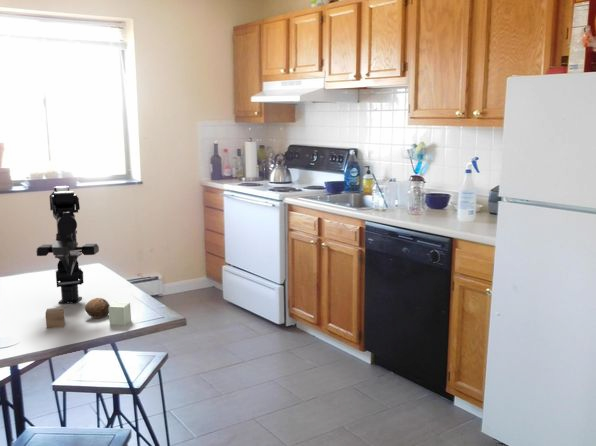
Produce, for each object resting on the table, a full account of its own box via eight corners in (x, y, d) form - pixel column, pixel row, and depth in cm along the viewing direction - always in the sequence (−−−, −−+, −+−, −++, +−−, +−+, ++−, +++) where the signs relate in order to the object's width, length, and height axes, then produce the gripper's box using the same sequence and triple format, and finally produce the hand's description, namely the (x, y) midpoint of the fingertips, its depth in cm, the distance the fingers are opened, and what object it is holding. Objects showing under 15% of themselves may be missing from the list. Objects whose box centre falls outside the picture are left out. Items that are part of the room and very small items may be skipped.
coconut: (84, 303, 197) (89, 291, 194) (107, 309, 200) (113, 297, 197) (80, 321, 190) (86, 308, 187) (104, 327, 193) (110, 315, 190)
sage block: (116, 319, 190) (115, 302, 189) (131, 320, 189) (130, 302, 188) (109, 325, 185) (108, 306, 184) (124, 325, 184) (123, 307, 183)
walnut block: (48, 323, 187) (46, 308, 186) (64, 322, 188) (63, 307, 187) (46, 328, 182) (45, 313, 181) (63, 327, 184) (62, 311, 183)
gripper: (27, 234, 185) (31, 281, 187) (87, 232, 186) (90, 280, 188) (41, 228, 196) (45, 273, 198) (97, 227, 197) (100, 272, 199)
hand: (69, 274), depth 196 cm, fingers closed
